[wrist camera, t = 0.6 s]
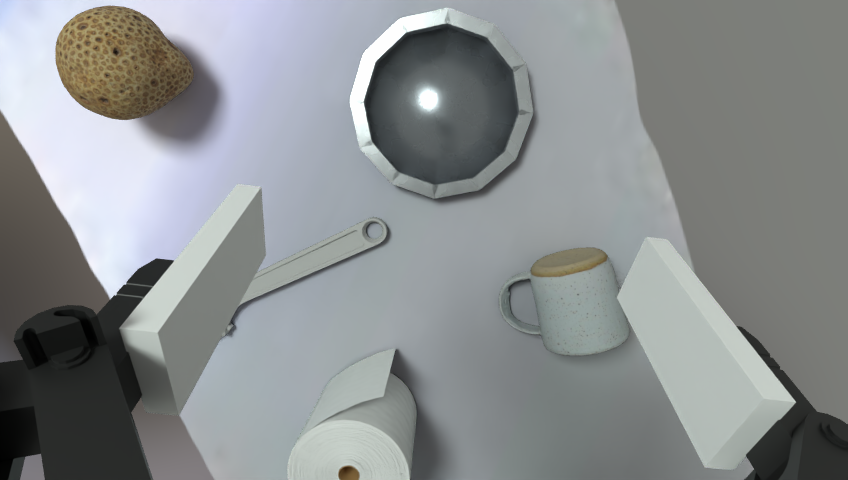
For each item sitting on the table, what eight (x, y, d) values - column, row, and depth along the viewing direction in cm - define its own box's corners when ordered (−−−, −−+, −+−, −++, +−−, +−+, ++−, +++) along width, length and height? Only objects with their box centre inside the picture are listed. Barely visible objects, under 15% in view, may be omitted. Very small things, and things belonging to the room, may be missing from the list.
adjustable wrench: (382, 210, 45) (379, 213, 43) (404, 270, 46) (403, 274, 44) (160, 292, 47) (150, 297, 46) (187, 346, 48) (177, 353, 47)
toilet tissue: (332, 463, 50) (304, 538, 40) (304, 363, 48) (267, 417, 38) (426, 447, 49) (422, 520, 39) (402, 344, 47) (390, 395, 37)
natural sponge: (95, 54, 43) (-8, 24, 33) (171, 5, 42) (87, -42, 32) (149, 140, 44) (65, 135, 34) (224, 94, 43) (159, 76, 33)
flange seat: (562, 116, 42) (567, 115, 40) (432, 227, 44) (431, 230, 43) (450, -23, 40) (451, -31, 38) (321, 100, 43) (316, 98, 41)
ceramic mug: (593, 237, 44) (623, 254, 36) (612, 314, 45) (644, 346, 38) (488, 266, 45) (495, 289, 38) (509, 341, 46) (520, 377, 39)
